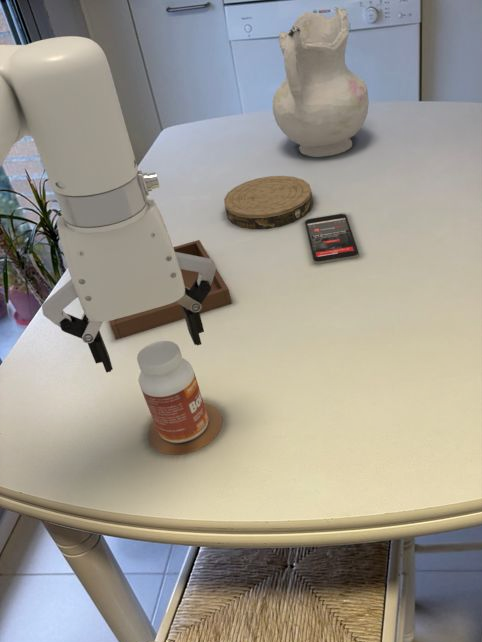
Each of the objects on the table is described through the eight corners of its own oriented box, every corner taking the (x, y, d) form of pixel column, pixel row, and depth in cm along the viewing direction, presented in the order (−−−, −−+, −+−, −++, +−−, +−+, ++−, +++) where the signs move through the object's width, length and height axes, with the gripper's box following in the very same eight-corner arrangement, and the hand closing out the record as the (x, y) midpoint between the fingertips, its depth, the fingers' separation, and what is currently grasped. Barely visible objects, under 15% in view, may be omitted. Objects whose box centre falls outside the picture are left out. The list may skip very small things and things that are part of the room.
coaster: (157, 467, 74) (155, 463, 74) (142, 419, 80) (141, 416, 80) (231, 440, 76) (230, 437, 75) (212, 396, 82) (210, 392, 82)
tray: (116, 342, 93) (110, 325, 91) (100, 285, 105) (93, 270, 103) (232, 305, 97) (228, 288, 95) (203, 255, 109) (199, 239, 107)
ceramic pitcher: (361, 175, 128) (363, 31, 110) (264, 172, 130) (251, 31, 113) (371, 134, 143) (374, 1, 125) (285, 132, 145) (276, 2, 128)
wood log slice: (299, 184, 125) (297, 168, 123) (324, 217, 114) (322, 201, 112) (219, 203, 123) (216, 188, 121) (237, 239, 112) (233, 223, 110)
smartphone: (313, 262, 102) (304, 219, 112) (314, 266, 102) (304, 223, 113) (359, 254, 102) (345, 212, 112) (360, 258, 102) (346, 216, 113)
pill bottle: (209, 440, 75) (185, 365, 68) (157, 449, 75) (127, 375, 68) (209, 405, 80) (186, 332, 72) (159, 413, 80) (132, 341, 72)
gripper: (186, 162, 62) (219, 312, 74) (1, 206, 59) (67, 356, 70) (205, 191, 57) (238, 346, 69) (4, 240, 53) (75, 396, 65)
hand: (152, 351), depth 70 cm, fingers open, 9 cm apart
